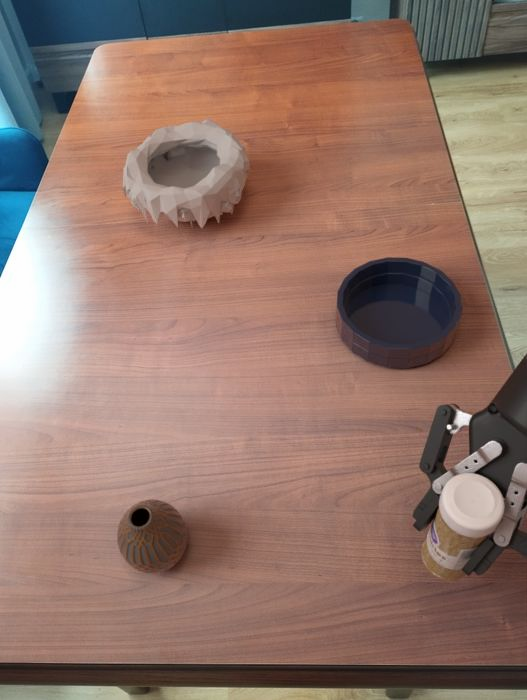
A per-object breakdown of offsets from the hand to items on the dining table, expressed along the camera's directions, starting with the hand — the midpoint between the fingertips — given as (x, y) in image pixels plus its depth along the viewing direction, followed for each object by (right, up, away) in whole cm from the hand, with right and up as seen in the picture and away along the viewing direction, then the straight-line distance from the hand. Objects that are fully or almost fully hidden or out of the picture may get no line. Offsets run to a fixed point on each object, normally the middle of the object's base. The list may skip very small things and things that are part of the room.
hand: (443, 547), depth 48 cm
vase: (-26, -5, +14) cm, 30 cm away
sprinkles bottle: (+2, -3, +6) cm, 7 cm away
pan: (+3, +20, +30) cm, 36 cm away
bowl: (-26, +41, +49) cm, 69 cm away
